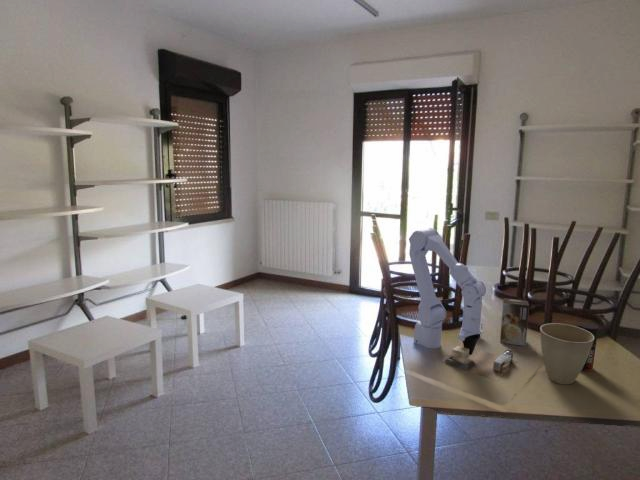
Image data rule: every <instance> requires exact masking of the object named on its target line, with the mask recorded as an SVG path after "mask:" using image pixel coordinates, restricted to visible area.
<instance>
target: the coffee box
mask: <svg viewBox="0 0 640 480" xmlns="http://www.w3.org/2000/svg"><path fill="white" fill-rule="evenodd" d="M529 311H530V304H529V301H528V300H522V299H516V298H506V297H503V299H502V308H501V321H500V332H499V342H500V343H502V344H510V345H516V346H522V347H523V346H524V347H526V345H527V333H528V323H529Z"/></svg>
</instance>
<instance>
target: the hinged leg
mask: <svg viewBox="0 0 640 480" xmlns="http://www.w3.org/2000/svg"><path fill="white" fill-rule="evenodd" d="M498 356H499V357H498V358H497V359H496V360H495V361H494V365H493V370H495V371H498V372H501V370H502V366H503V365H504V364H505V363H506V362H508V363H512V362H513V360H514V351H513V350H510V349H505V350H504V352H503V353H501V354H500V355H498Z"/></svg>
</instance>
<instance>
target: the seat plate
mask: <svg viewBox="0 0 640 480" xmlns="http://www.w3.org/2000/svg"><path fill="white" fill-rule="evenodd" d="M462 347H464V345H463V346H462ZM499 356H500V355H499V354H498V355H497V354H494V353H491V352H488V351H485V350H481V349H478V348H476V347H475V348H474V351H473V353H472V354H471V355H469V359H468V363H467V364H463V363H460V362H457V361H454V360H452V353H451V354H449V355H448V356H447V357H445V358H444V359H442V360H441V362H442V363H444V364H447V365H450V366H453V367H456V368H459V369H461V370H465V371H467V372H470V373H473V374H476V375H479V376H482V377H484V378H487V379H489V380H492V381H496V382H498V381H499V380H500V379H501V378H502V377H503V376H504V375H505V374H507V373H508V371H510V370H511V369H512V368H513V367H514V366H515V365H516V364H517V363H518V361H516V360H514V359H513V362H512V363H508V362H506V363H505V364H504V365H503V366H502V370H501V372H498V371H495V370H493V365H494V361H495V360H496V359H497V358H498V357H499Z"/></svg>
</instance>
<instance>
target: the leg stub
mask: <svg viewBox="0 0 640 480" xmlns="http://www.w3.org/2000/svg"><path fill="white" fill-rule="evenodd" d="M451 354H452V360H454V361H457V362H460V363H463V364H467V363H468V359H469V349H467V348H464V347H463V346H462V345H461V346H460V345H457V346H455V347H454V348H452V352H451Z"/></svg>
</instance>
